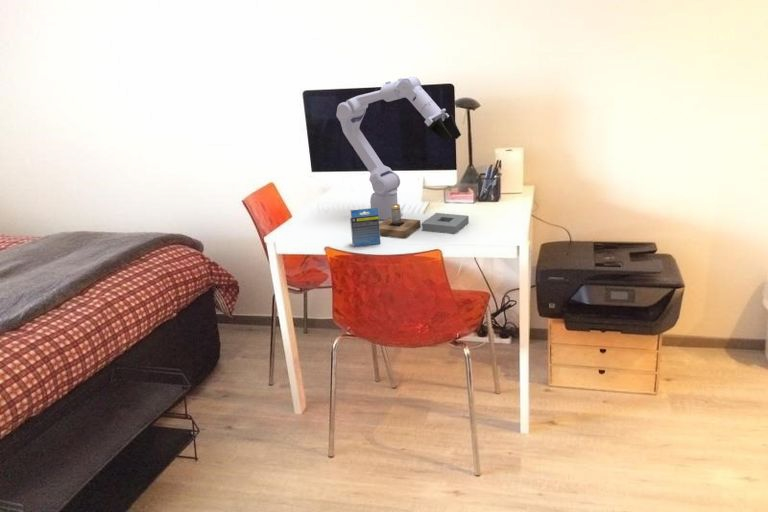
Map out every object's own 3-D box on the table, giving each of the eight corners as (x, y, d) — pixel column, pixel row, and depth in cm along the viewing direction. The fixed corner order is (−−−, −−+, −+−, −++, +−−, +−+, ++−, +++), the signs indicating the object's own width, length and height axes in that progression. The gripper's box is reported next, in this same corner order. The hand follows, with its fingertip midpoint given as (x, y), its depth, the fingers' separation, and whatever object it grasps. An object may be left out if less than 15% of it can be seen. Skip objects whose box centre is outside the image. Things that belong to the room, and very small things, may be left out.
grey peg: (391, 232, 205) (389, 206, 202) (395, 229, 207) (393, 203, 204) (399, 232, 203) (397, 207, 200) (402, 230, 206) (401, 204, 203)
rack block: (422, 230, 204) (421, 223, 203) (436, 219, 214) (436, 212, 213) (455, 233, 199) (455, 226, 198) (468, 222, 208) (468, 215, 208)
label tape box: (379, 240, 198) (376, 203, 194) (380, 244, 194) (378, 207, 190) (352, 243, 197) (348, 206, 193) (353, 247, 193) (350, 210, 189)
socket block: (373, 234, 203) (372, 227, 202) (389, 223, 213) (389, 217, 212) (405, 238, 198) (404, 231, 197) (420, 227, 208) (420, 220, 207)
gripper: (425, 100, 189) (453, 132, 187) (444, 96, 201) (470, 127, 199) (411, 116, 193) (438, 148, 191) (430, 111, 205) (456, 141, 203)
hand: (454, 138), depth 195 cm, fingers open, 7 cm apart
